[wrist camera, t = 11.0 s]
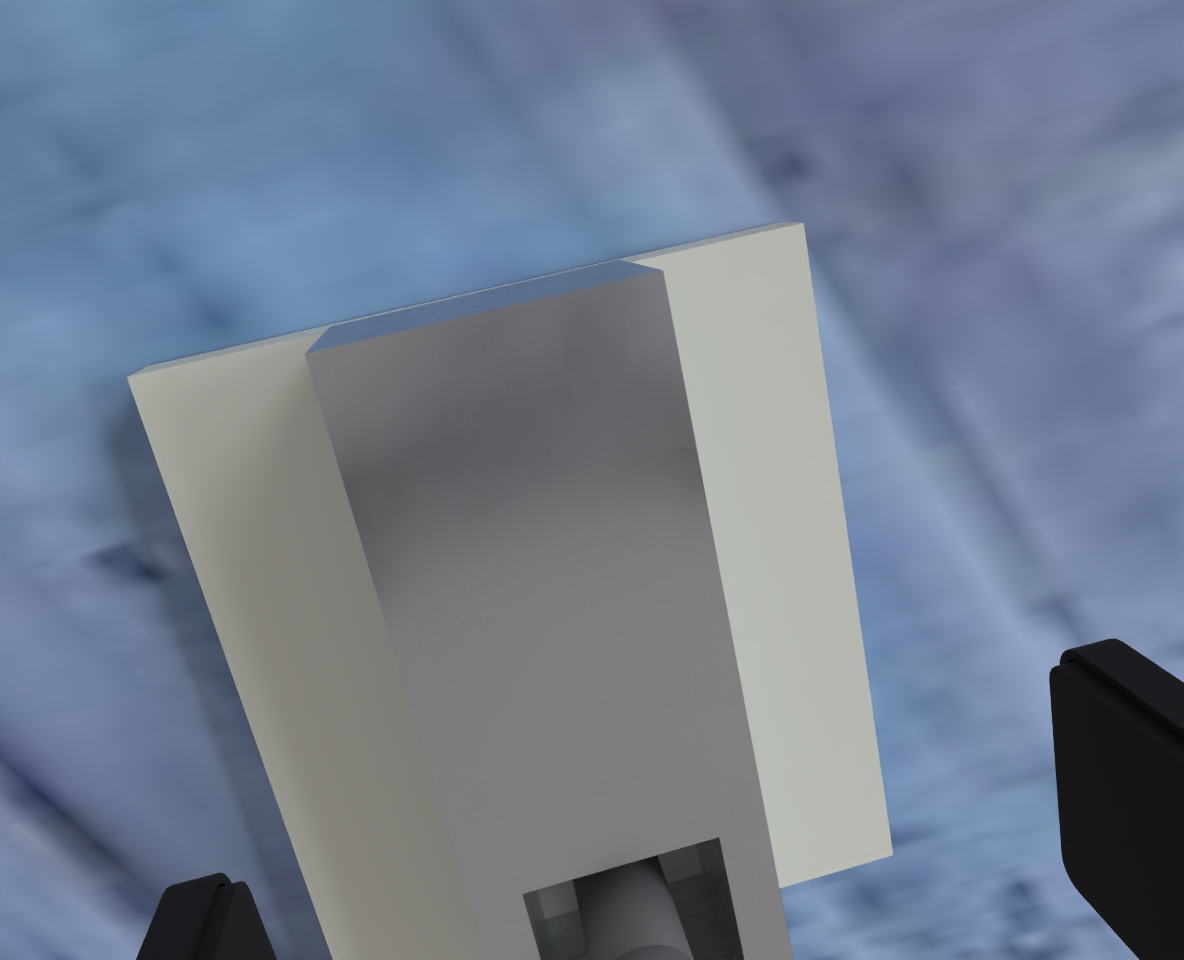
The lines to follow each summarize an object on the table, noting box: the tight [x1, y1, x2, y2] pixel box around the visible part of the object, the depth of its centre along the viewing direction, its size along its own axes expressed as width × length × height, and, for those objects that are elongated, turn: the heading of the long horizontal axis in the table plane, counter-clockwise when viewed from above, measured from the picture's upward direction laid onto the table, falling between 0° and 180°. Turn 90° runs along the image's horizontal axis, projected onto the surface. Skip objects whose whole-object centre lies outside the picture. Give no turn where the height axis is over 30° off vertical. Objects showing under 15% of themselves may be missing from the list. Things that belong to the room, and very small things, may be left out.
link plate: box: [305, 260, 793, 960], centre depth 20 cm, size 16×6×4 cm, turn 12°
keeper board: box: [127, 222, 893, 960], centre depth 20 cm, size 16×14×8 cm
